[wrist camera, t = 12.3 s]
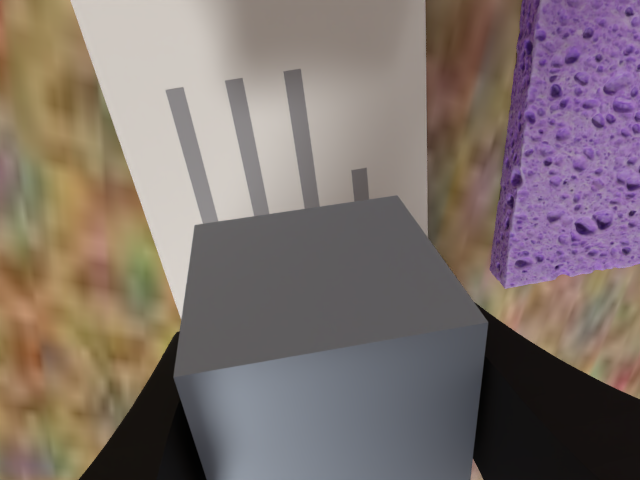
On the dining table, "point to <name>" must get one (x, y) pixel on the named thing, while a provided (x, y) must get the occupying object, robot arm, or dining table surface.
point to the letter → (261, 107)
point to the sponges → (571, 143)
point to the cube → (328, 348)
